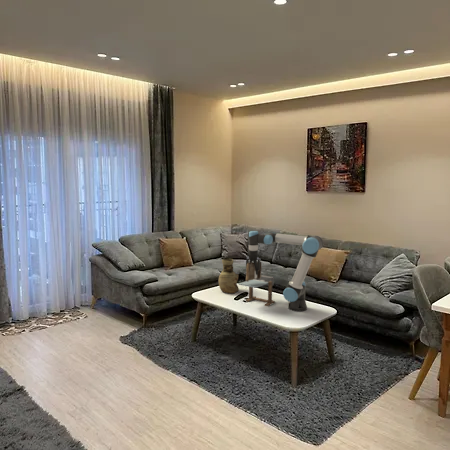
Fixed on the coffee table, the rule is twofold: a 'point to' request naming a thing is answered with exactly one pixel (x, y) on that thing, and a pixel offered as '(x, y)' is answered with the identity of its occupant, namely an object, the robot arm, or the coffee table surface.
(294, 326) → the coffee table surface
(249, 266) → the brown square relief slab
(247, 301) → the trapdoor frame
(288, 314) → the coffee table surface
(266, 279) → the trapdoor
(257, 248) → the robot arm
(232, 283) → the ceramic vessel
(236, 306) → the coffee table surface
